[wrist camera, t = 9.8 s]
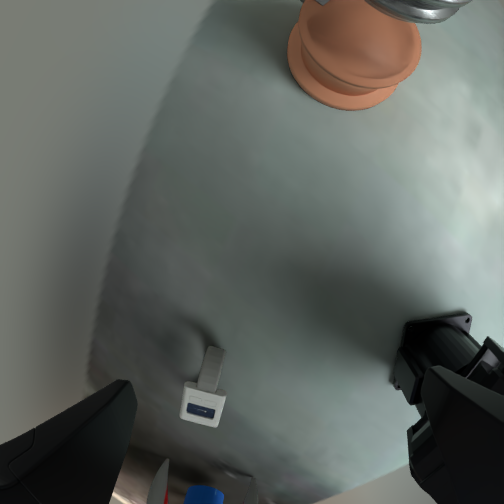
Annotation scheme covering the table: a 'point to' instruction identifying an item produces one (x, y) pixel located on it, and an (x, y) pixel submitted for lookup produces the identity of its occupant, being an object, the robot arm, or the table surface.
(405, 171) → the table surface
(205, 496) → the toy rocket
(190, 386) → the wristwatch
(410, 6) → the grey ribbed cylinder
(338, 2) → the housing
